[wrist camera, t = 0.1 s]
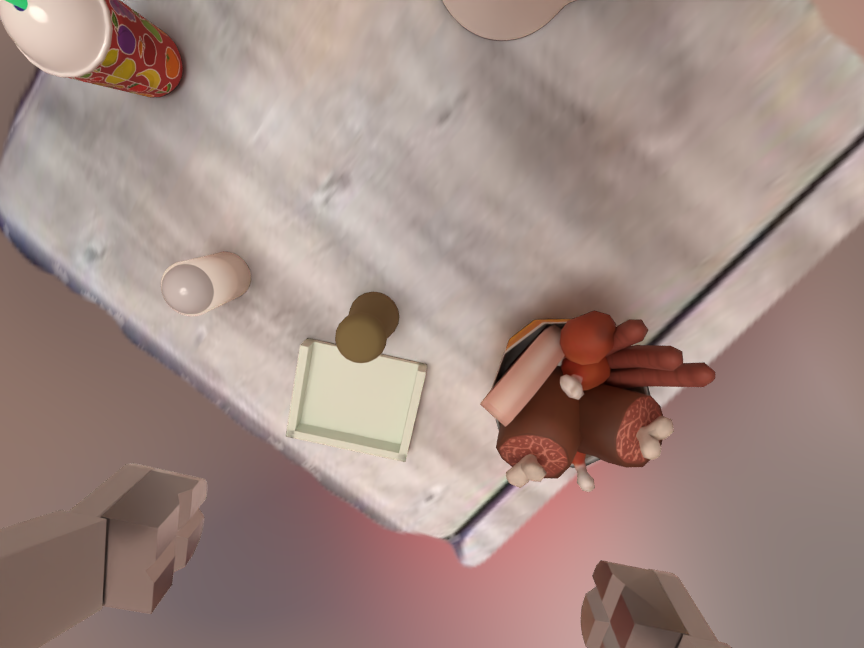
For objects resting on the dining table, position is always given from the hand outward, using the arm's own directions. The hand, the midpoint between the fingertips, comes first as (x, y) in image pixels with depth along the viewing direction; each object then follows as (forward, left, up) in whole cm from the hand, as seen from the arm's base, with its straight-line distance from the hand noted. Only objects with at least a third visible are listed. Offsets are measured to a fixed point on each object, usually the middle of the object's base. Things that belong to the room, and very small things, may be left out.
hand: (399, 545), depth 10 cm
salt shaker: (+7, -24, -48) cm, 54 cm away
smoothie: (-14, -34, -48) cm, 60 cm away
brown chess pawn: (+8, -6, -48) cm, 49 cm away
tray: (+19, -6, -48) cm, 52 cm away
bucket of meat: (+9, +16, -48) cm, 51 cm away
